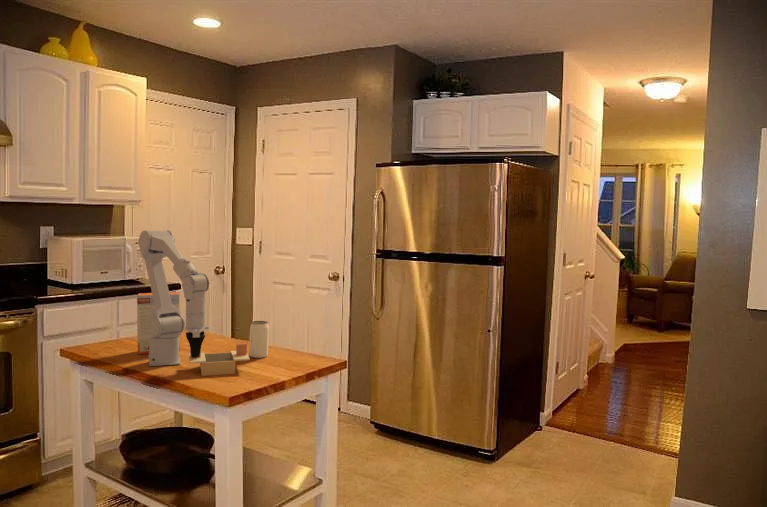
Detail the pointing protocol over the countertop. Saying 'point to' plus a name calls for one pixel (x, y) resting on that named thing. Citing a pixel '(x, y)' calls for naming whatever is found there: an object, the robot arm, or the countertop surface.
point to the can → (259, 339)
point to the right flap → (240, 352)
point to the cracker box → (143, 321)
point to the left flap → (197, 358)
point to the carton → (218, 364)
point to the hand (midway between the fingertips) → (195, 355)
